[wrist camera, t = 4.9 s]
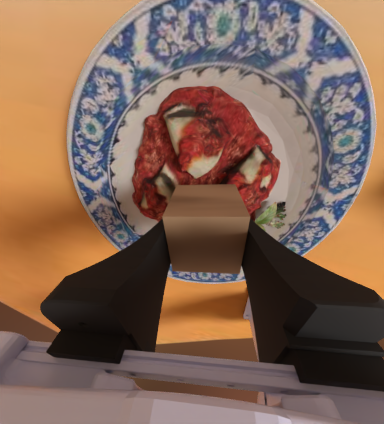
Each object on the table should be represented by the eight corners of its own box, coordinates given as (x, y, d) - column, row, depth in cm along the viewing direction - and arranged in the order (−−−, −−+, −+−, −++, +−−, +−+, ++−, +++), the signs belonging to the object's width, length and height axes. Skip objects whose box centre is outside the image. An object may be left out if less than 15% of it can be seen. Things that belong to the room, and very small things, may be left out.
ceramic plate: (58, 203, 18) (34, 216, 16) (180, -182, 6) (164, -376, 4) (212, 290, 25) (212, 309, 23) (403, 181, 14) (448, 194, 11)
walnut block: (230, 230, 13) (239, 273, 10) (181, 230, 14) (172, 271, 10) (235, 184, 11) (250, 216, 7) (176, 185, 12) (162, 216, 8)
